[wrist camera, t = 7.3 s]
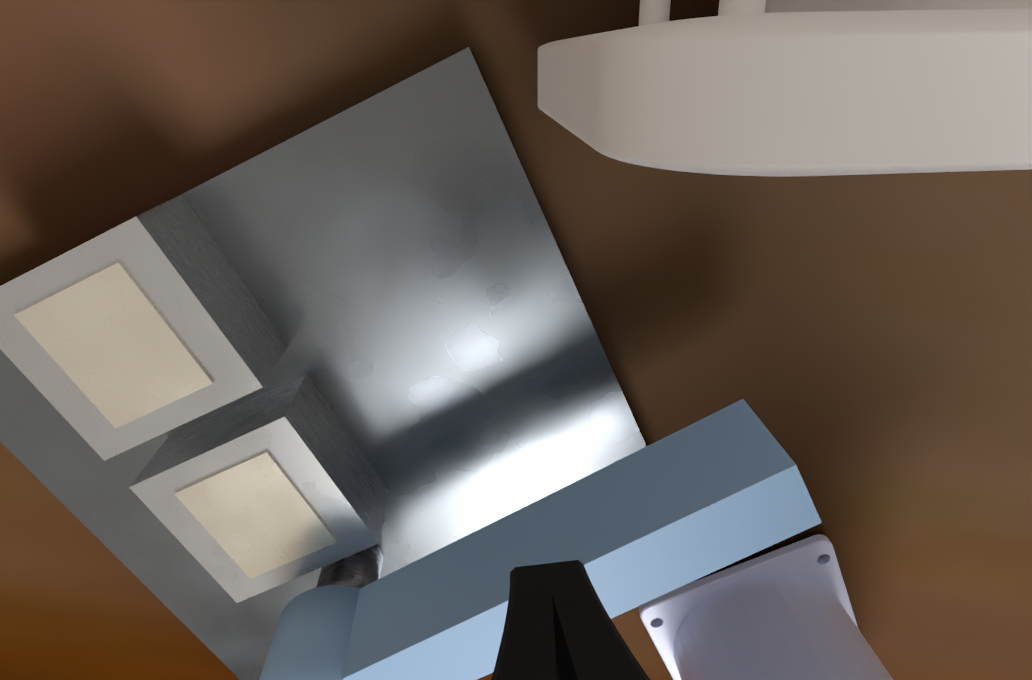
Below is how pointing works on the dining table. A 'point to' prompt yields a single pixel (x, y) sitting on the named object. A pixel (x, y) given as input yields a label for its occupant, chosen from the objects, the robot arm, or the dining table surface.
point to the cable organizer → (803, 87)
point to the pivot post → (353, 569)
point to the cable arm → (558, 556)
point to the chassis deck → (377, 342)
